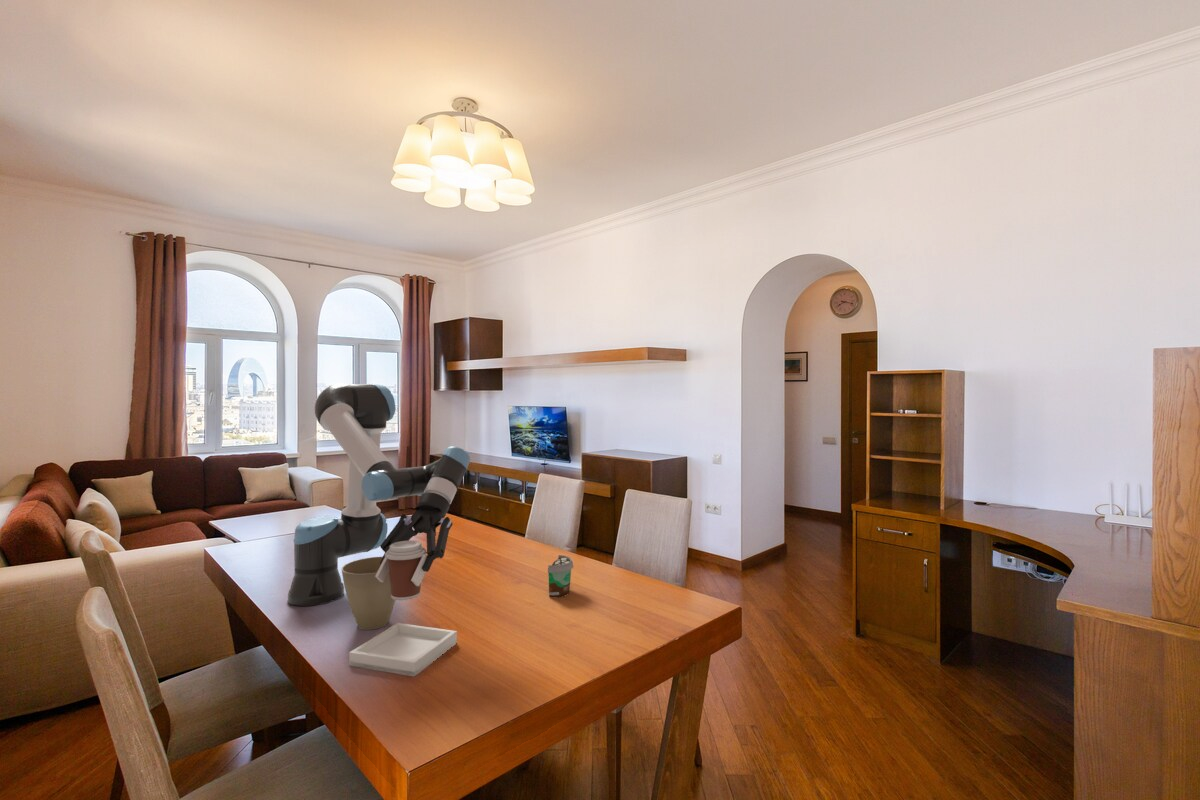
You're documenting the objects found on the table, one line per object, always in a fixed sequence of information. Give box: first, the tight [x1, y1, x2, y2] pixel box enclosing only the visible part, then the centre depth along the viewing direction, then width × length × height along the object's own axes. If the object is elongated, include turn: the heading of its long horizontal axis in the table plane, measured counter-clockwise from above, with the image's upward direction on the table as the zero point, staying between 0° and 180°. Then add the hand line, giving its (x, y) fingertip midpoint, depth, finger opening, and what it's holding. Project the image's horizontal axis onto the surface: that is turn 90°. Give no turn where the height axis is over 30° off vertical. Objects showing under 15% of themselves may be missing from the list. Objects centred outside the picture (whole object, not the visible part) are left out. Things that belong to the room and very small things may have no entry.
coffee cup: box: [384, 540, 427, 601], centre depth 130 cm, size 9×9×12 cm
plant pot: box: [341, 556, 396, 631], centre depth 147 cm, size 15×15×16 cm
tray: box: [348, 622, 458, 677], centre depth 130 cm, size 17×17×3 cm
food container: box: [547, 554, 574, 598], centre depth 171 cm, size 12×6×10 cm, turn 168°
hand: (396, 581), depth 127 cm, fingers closed on coffee cup, 9 cm apart
